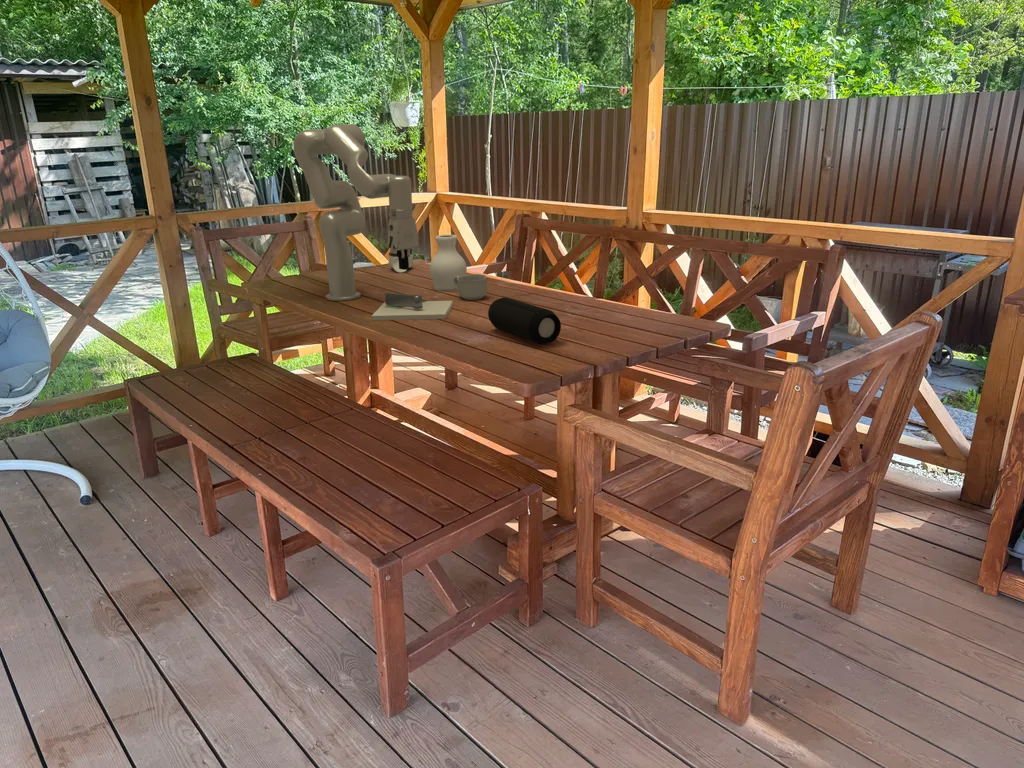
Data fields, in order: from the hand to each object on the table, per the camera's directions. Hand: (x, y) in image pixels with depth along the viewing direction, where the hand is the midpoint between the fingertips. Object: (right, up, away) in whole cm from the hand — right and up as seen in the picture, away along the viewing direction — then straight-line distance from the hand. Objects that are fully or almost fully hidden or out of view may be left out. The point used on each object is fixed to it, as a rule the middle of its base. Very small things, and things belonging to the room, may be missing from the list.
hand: (403, 268), depth 249 cm
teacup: (+22, -8, +16) cm, 28 cm away
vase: (+13, -2, +34) cm, 37 cm away
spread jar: (-12, +11, +73) cm, 75 cm away
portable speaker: (+40, -26, -36) cm, 60 cm away
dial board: (+4, -15, -3) cm, 16 cm away
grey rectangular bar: (+1, -13, -4) cm, 14 cm away
